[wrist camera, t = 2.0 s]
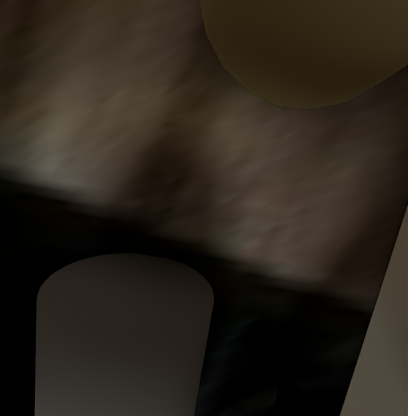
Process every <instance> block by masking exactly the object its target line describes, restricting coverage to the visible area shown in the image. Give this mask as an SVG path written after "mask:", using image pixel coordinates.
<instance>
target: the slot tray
mask: <svg viewBox="0 0 408 416" xmlns="http://www.w3.org/2000/svg"><path fill="white" fill-rule="evenodd" d="M340 416H408V206H407V209H406V212H405V215H404V218H403V221H402V224H401V228H400V231H399V234H398V237H397V240H396V243H395V246H394V249H393V252H392V256H391V259H390V262H389V265H388V268H387V271H386V274H385V277H384V280H383V283H382V287H381V290H380V293H379V296H378V299H377V302H376V305H375V308H374V311H373V314H372V318H371V321H370V324H369V327H368V330H367V333H366V336H365V339H364V342H363V345H362V349H361V352H360V355H359V358H358V361H357V364H356V367H355V370H354V373H353V376H352V380H351V383H350V386H349V389H348V392H347V395H346V398H345V401H344V404H343V408H342V411H341V414H340Z"/></svg>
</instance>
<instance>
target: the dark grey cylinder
mask: <svg viewBox="0 0 408 416" xmlns="http://www.w3.org/2000/svg"><path fill="white" fill-rule="evenodd" d="M213 303H214V294H213V290H212V288H211V286H210V284H209V283H208V281H207V280H206V279H205V278H204V277H203V276H202V275H201V274H200V273H198V272H197V271H196V270H194V269H192V268H191V267H189V266H187V265H185V264H183V263H180V262H178V261H175V260H172V259H168V258H162V257H156V256H149V255H142V254H136V253H118V254H107V255H100V256H95V257H90V258H87V259H83V260H80V261H77V262H74V263H72V264H70V265H67V266H65V267H63V268H62V269H60V270H58V271H57V272H55V273H54V274H53V275H51V276H50V277H49V278H48V279H47V280H46V281H45V282H44V284H43V285H42V286H41V288H40V290H39V293H38V297H37V322H36V384H35V416H194V412H195V406H196V400H197V395H198V389H199V383H200V378H201V372H202V366H203V360H204V355H205V349H206V343H207V338H208V332H209V326H210V320H211V315H212V309H213Z"/></svg>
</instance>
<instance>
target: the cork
mask: <svg viewBox="0 0 408 416" xmlns="http://www.w3.org/2000/svg"><path fill="white" fill-rule="evenodd" d="M199 1H200V6H201V12H202V17H203V22H204V28H205V33H206V35H207V37H208V39H209V41H210V43H211V45H212V47H213V49H214V51H215V52H216V54H217V56H218V58H219V60H220V62H221V64H222V66H223V67H224V68H225V69H226V70H227V71H228V72H229V73H230V74H231V75H232V76H233V77H234V78H235V79H236V80H237V81H238V82H239V83H240V84H241V85H242V86H243V87H244V88H245V89H246V90H247V91H248V92H250V93H252V94H254V95H256V96H258V97H260V98H262V99H265V100H267V101H269V102H271V103H273V104H275V105H277V106H282V107H291V108H300V109H309V110H314V109H318V108H323V107H327V106H332V105H336V104H341V103H345V102H348V101H350V100H351V99H353V98H355V97H357V96H358V95H360V94H362V93H364V92H365V91H367V90H369V89H371V88H372V87H374V86H376V85H378V84H379V83H381V82H382V81H384V80H385V79H387V78H388V77H390V76H392V75H393V74H395V73H396V72H398V71H399V70H401V69H402V68H404V67H405V66H407V65H408V0H199Z"/></svg>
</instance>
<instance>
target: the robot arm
mask: <svg viewBox="0 0 408 416" xmlns="http://www.w3.org/2000/svg"><path fill="white" fill-rule="evenodd" d="M274 414H275V416H322V414H321V413H320V412H319V411H318V410H317V409H316V407H315V406H314V405H313V404H312V403H311V402H310V400H309V399H308V398H307V397H306V396H305V395H304V393H303V392H302V391H301V390H300V389H299V388H298V387H297V386H296V385H295V384H292V383H285V382H282V383H281V384H280V386H279V389H278V393H277V397H276V401H275V407H274Z"/></svg>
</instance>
